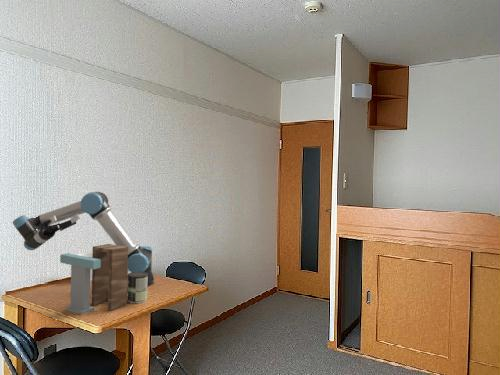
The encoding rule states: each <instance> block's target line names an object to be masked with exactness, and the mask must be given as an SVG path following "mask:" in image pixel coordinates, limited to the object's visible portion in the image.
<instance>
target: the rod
mask: <svg viewBox="0 0 500 375" xmlns="http://www.w3.org/2000/svg"><path fill="white" fill-rule="evenodd" d="M59 258H60V260H59V262H60V263H61V264H66V265H70V266H71V265H74V266H79V267H84V268H89V269H97V268H101V259H96V258H90V257H85V256H80V255H78V254H73V253H68V252H67V253H62V254H60V256H59Z"/></svg>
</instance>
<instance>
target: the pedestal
mask: <svg viewBox="0 0 500 375" xmlns="http://www.w3.org/2000/svg"><path fill="white" fill-rule="evenodd" d="M90 300H91V281H90V269H89V268H84V267H79V266H74V265H70V300H69V302H70V305H67V306H65V308H64V309H65V311H67V312H70V313H71V312H72V313H75V314H77V313H78V315H81V314H83V315H85V313H86V314H88V313H91V312H94V311H95V306H91V305H90V304H91V303H90Z"/></svg>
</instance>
